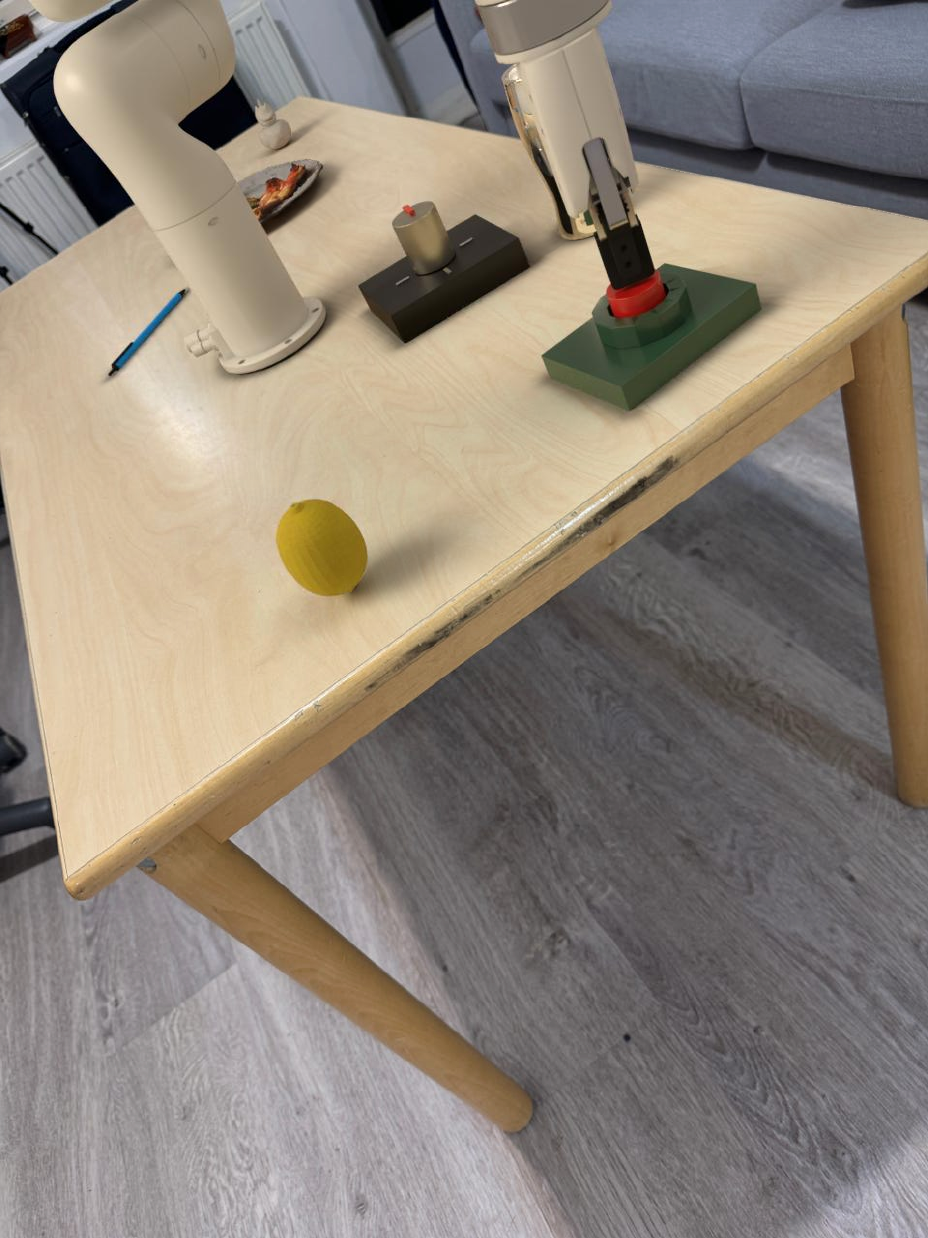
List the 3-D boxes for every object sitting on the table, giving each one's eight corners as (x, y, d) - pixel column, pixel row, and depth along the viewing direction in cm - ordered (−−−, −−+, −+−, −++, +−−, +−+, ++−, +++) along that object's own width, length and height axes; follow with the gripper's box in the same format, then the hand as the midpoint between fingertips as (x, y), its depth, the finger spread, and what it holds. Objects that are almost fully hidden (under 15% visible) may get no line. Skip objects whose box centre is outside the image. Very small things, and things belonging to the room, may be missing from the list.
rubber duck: (271, 156, 161) (245, 108, 156) (263, 151, 166) (237, 103, 161) (299, 139, 161) (274, 90, 156) (290, 134, 166) (265, 86, 161)
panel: (404, 343, 92) (389, 314, 90) (371, 310, 101) (356, 283, 99) (530, 266, 93) (518, 235, 91) (486, 240, 101) (474, 211, 99)
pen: (109, 378, 119) (103, 370, 118) (184, 292, 130) (179, 284, 130) (114, 377, 119) (108, 369, 118) (189, 291, 130) (184, 283, 129)
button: (636, 324, 70) (629, 303, 69) (602, 314, 73) (595, 293, 72) (677, 293, 71) (671, 271, 70) (641, 284, 74) (635, 263, 73)
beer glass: (622, 228, 90) (570, 60, 81) (551, 251, 93) (492, 91, 83) (628, 195, 95) (579, 32, 85) (560, 217, 98) (505, 62, 88)
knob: (461, 255, 93) (439, 203, 90) (422, 279, 93) (397, 228, 90) (447, 244, 96) (424, 193, 93) (408, 267, 96) (384, 217, 93)
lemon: (316, 579, 71) (258, 496, 66) (385, 551, 70) (332, 465, 65) (314, 630, 67) (252, 546, 62) (387, 601, 66) (330, 514, 61)
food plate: (355, 161, 139) (344, 137, 137) (259, 253, 128) (245, 228, 126) (243, 186, 155) (231, 165, 153) (148, 270, 144) (134, 248, 142)
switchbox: (630, 412, 70) (613, 365, 67) (550, 378, 77) (532, 335, 75) (762, 309, 72) (750, 260, 69) (671, 286, 79) (658, 241, 77)
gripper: (480, 11, 66) (570, 258, 77) (496, 67, 54) (599, 346, 66) (586, -43, 64) (662, 218, 75) (626, 3, 53) (707, 302, 64)
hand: (632, 277), depth 71 cm, fingers closed
